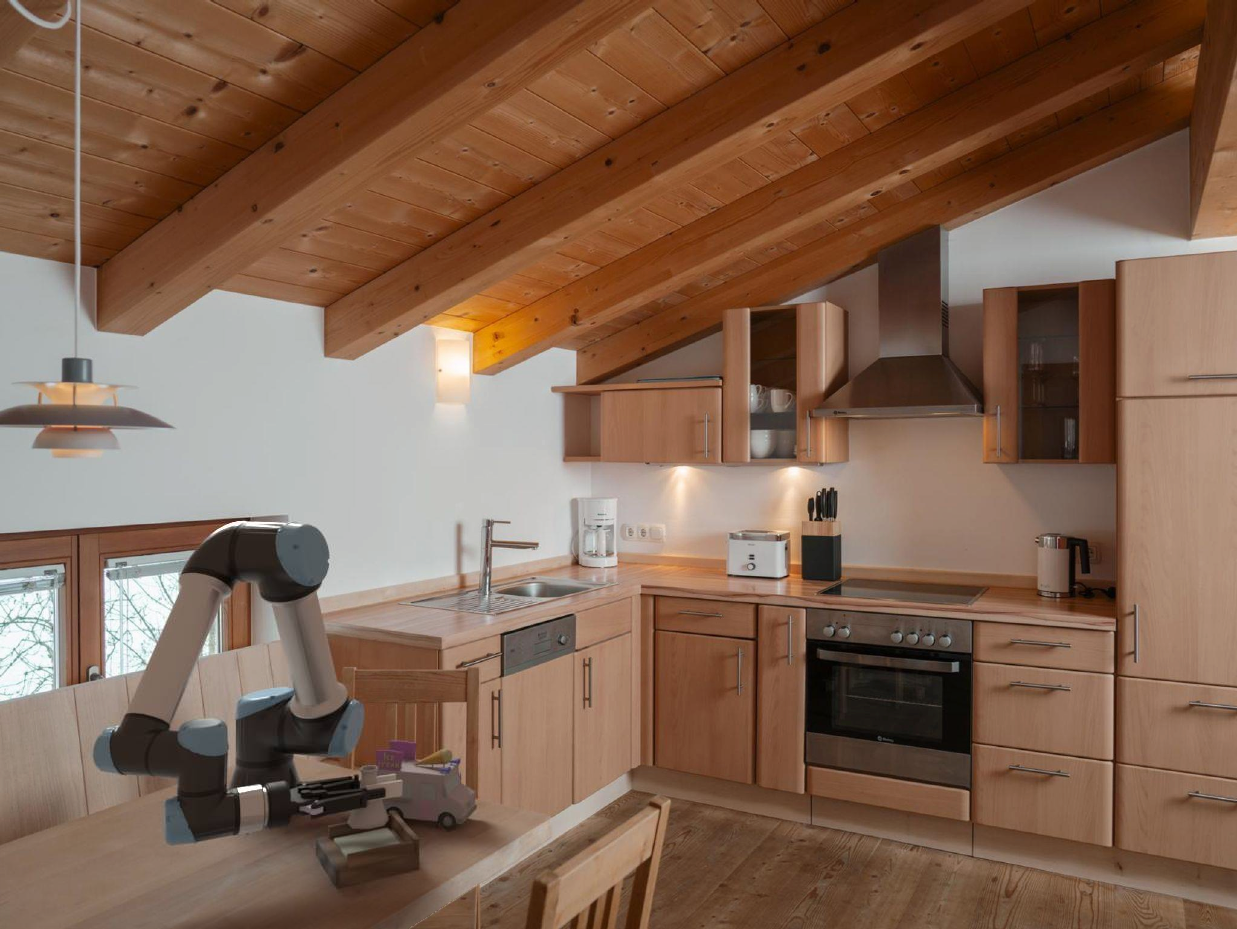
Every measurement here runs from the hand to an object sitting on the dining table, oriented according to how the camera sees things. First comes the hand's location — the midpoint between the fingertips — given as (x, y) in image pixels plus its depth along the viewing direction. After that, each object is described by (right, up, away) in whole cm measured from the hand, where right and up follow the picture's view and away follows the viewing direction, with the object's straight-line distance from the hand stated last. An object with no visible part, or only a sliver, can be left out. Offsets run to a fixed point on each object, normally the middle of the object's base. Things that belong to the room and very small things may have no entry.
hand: (398, 784), depth 167 cm
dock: (-5, -13, -3) cm, 14 cm away
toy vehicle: (+1, -13, +16) cm, 21 cm away
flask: (-5, -6, -3) cm, 8 cm away
